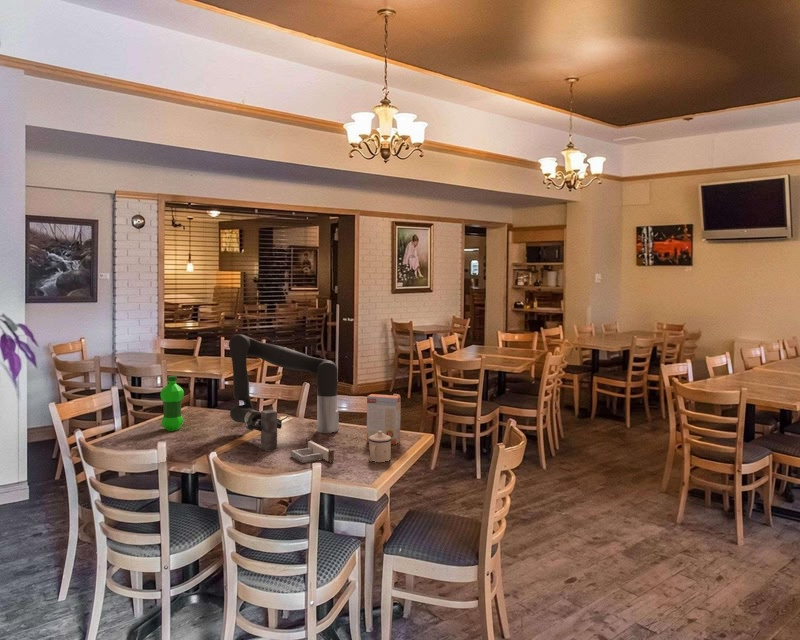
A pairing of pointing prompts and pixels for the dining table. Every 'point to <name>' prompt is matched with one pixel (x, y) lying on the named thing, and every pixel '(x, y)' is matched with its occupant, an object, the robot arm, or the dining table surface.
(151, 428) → the dining table surface
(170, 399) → the plastic bottle
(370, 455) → the teacup with lid
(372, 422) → the cracker box
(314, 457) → the grey open box
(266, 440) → the post
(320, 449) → the gate panel
